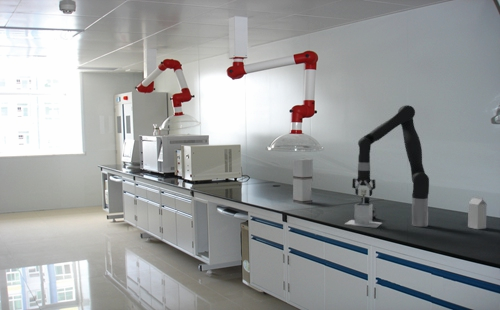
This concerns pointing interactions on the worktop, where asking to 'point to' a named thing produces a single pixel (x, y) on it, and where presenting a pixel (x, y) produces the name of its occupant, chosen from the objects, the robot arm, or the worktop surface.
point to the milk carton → (477, 213)
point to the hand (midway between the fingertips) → (363, 195)
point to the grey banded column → (302, 180)
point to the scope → (368, 203)
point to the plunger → (363, 192)
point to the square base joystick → (363, 214)
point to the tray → (373, 224)
